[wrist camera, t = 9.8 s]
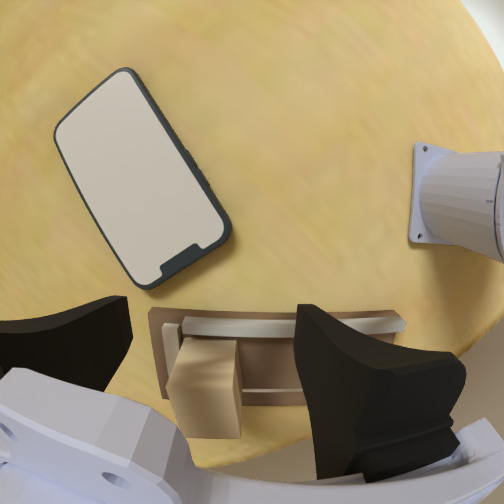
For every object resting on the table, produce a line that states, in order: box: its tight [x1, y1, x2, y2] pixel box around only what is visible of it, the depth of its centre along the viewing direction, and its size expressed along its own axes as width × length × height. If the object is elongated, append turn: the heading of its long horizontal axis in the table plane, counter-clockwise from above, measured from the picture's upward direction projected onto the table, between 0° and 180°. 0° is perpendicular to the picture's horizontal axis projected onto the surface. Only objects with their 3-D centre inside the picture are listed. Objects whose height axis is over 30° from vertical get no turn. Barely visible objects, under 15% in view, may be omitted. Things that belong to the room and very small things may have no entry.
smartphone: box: [54, 67, 232, 290], centre depth 18 cm, size 9×2×16 cm
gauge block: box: [165, 336, 242, 439], centre depth 18 cm, size 4×5×6 cm
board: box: [148, 307, 407, 406], centre depth 21 cm, size 20×9×2 cm, turn 88°
